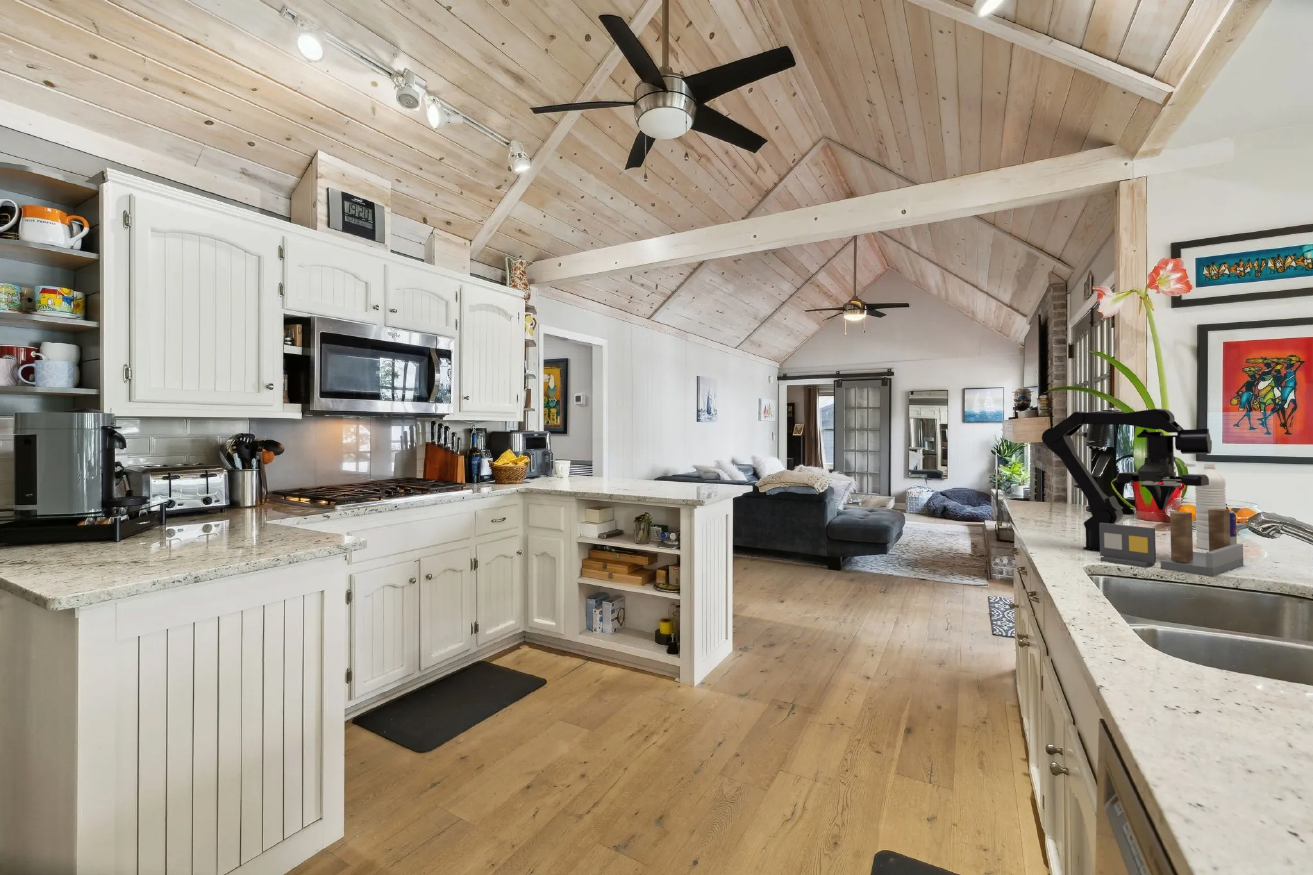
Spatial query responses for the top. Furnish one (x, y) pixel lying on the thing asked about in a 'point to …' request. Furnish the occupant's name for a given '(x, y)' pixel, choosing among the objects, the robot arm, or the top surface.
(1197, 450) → the robot arm
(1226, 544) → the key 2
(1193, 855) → the top surface
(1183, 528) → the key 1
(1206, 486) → the water bottle
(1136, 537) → the card
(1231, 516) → the energy drink
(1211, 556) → the grey stepped base
